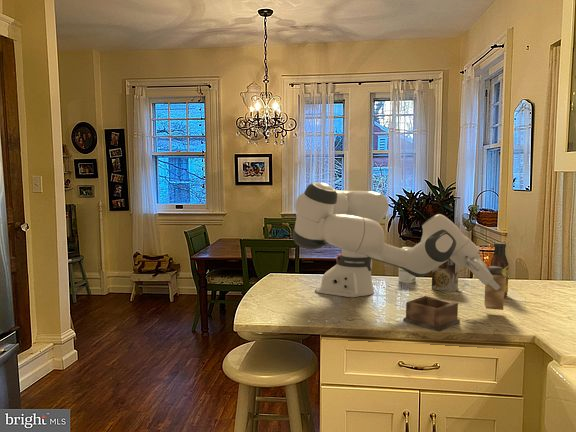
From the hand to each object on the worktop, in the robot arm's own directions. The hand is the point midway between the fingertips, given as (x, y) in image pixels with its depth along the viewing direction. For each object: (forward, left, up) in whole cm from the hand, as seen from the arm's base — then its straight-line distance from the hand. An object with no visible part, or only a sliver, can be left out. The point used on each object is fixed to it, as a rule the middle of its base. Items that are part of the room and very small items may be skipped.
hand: (496, 286), depth 143 cm
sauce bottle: (+4, +27, -10) cm, 29 cm away
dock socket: (-20, -14, -9) cm, 26 cm away
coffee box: (-15, +31, -10) cm, 35 cm away
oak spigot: (-1, 0, -7) cm, 7 cm away
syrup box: (-30, +39, -10) cm, 50 cm away
